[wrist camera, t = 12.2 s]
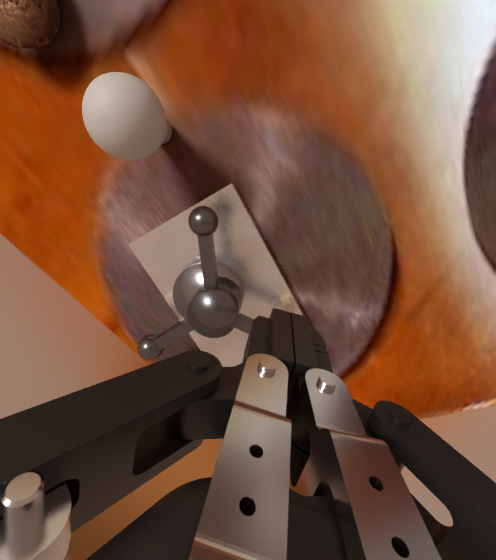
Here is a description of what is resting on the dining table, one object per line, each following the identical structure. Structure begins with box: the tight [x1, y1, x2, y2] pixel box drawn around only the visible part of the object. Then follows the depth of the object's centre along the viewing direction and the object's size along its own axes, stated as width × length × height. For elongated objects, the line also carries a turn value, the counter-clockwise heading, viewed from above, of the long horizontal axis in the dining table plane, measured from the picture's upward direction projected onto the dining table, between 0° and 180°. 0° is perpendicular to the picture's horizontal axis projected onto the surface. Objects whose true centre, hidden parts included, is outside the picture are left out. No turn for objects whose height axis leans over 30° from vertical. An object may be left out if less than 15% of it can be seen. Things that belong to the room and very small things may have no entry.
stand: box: [128, 183, 312, 367], centre depth 35 cm, size 20×14×2 cm
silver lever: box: [137, 206, 254, 360], centre depth 31 cm, size 18×16×6 cm
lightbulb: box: [82, 72, 172, 161], centre depth 25 cm, size 6×6×11 cm
